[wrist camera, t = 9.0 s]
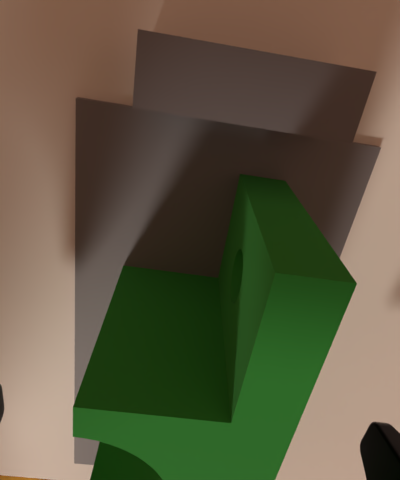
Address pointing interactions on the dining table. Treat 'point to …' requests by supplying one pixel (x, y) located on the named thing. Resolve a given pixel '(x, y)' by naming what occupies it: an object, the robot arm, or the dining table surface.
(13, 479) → the dining table surface
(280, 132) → the door panel
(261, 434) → the green angled block
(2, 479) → the dining table surface
